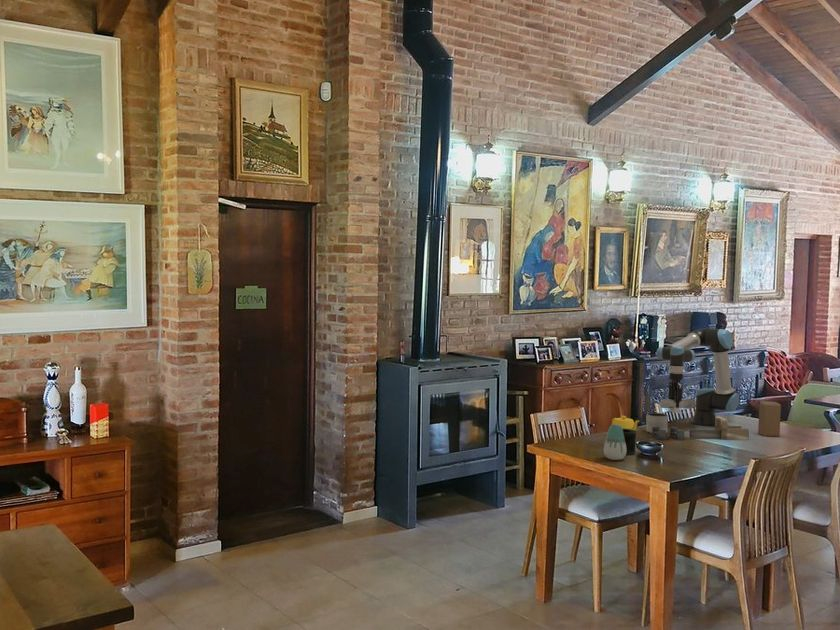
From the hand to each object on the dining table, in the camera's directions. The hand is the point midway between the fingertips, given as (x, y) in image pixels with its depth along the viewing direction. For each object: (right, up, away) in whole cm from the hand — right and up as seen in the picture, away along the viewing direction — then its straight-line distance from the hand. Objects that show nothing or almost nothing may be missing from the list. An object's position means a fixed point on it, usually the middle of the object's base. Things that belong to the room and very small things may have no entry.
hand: (674, 412), depth 476 cm
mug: (-41, -17, -41) cm, 60 cm away
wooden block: (+63, -16, +17) cm, 67 cm away
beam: (+28, -16, +4) cm, 32 cm away
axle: (+1, +5, 0) cm, 5 cm away
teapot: (-30, -15, -2) cm, 33 cm away
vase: (-49, -17, -58) cm, 78 cm away
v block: (-4, -15, +1) cm, 16 cm away
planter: (-5, -15, +18) cm, 24 cm away
